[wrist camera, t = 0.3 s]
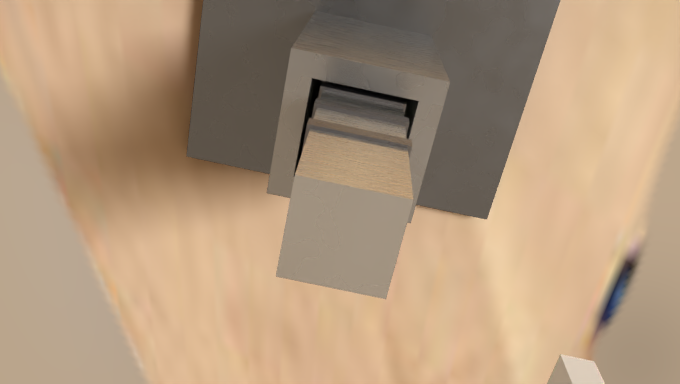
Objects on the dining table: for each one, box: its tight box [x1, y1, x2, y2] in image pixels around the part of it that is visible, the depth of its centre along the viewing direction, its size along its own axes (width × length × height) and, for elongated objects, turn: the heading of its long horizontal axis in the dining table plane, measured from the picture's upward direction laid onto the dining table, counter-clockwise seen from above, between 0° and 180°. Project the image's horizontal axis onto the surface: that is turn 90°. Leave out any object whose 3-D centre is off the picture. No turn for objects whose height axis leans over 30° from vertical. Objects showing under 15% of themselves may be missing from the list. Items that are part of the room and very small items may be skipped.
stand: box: [187, 0, 560, 223], centre depth 37 cm, size 16×22×13 cm
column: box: [276, 81, 413, 299], centre depth 32 cm, size 4×4×22 cm
